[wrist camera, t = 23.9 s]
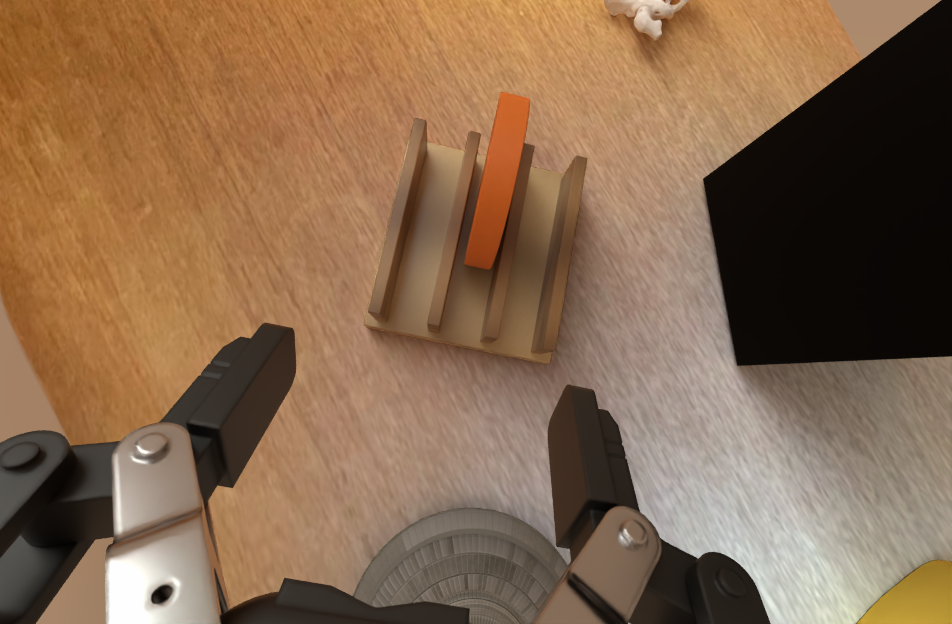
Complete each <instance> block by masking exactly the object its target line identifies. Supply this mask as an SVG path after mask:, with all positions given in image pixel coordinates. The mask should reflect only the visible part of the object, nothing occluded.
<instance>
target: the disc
mask: <svg viewBox="0 0 952 624" xmlns="http://www.w3.org/2000/svg"><path fill="white" fill-rule="evenodd" d="M529 108H530V100H529V98H525V97H521V96H517V95H513V94H509V93H505V92H501V94H500V98H499V102H498V106H497V111H496V115H495V120H494V124H493V129H492V133H491V138H490V142H489V147H488V151H487V156H486V161H485V165H484V170H483V174H482V179H481V184H480V189H479V193H478V198H477V203H476V207H475V212H474V217H473V222H472V227H471V231H470V236H469V241H468V246H467V251H466V256H465V262H464V264H465V265H469V266H473V267H478V268H482V269H487V270H490V268H491V267H492V265H493V263H494V260H495V257H496V254H497V251H498V248H499V245H500V242H501V238H502V235H503V231H504V227H505V224H506V220H507V216H508V212H509V208H510V204H511V200H512V196H513V192H514V188H515V183H516V179H517V175H518V170H519V165H520V161H521V156H522V151H523V146H524V141H525V135H526V130H527V124H528V117H529Z"/></svg>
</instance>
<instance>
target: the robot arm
mask: <svg viewBox="0 0 952 624" xmlns="http://www.w3.org/2000/svg"><path fill="white" fill-rule="evenodd" d="M295 373H296V352H295V334H294V330H293V328H289V327H284V326H280V325H275V324H270V323H264V324H262V325H261V326H260V327H259V329H258V330H257V331H256V333H255V334H254V335H253V336H252V338H251V339H250V338H245V337H239V338H238V339H236V340H234V341H233V342H231V343H229V344H228V345H226V346H224V347H223V348H222V349H221V350H220V351H219V353H218V354H217V355H216V356H215V357H214V358H213V360H212V361H211V364H208V366H207V367H206V368H205V369H204V370H203V371H202V373H201V376H198V377H197V379H196V380H195V381H194V382H193V383H192V385H191V386H190V387H189V388H188V389H187V390H186V392H185V393H184V394H183V395H182V396H181V398H180V399H179V400H178V401H177V402H176V404H175V405H174V406H173V407H172V408H171V409H170V411H169V412H168V413H167V414H166V415H165V417H164V418H163V419H162V420H161V421H160V422H159V423H154V424H150V425H147V426H143V427H141V428H139V429H137V430H135V431H133V432H131V433H130V434H128V435H127V436H126V437H125V438H123V439H122V440H121V441H117V442H108V443H97V444H86V445H74V446H70V444H69V442H68V441H67V439H66V438H65V437H64V436H63V435H62V434H60V433H57V432H53V431H45V430H42V431H32V432H27V433H24V434H20V435H17V436H14V437H11V438H9V439H7V440H5V441H3V442H1V443H0V624H36V622H37V621H38V619H39V618H40V617H41V615H42V614H43V612H44V611H45V609H46V608H47V607H48V605H49V604H50V602H51V601H52V600H53V598H54V597H55V595H56V594H57V593H58V591H59V590H60V588H61V587H62V586H63V584H64V583H65V581H66V580H67V579H68V577H69V576H70V574H71V573H72V572H73V570H74V569H75V567H76V566H77V564H78V563H79V562H80V560H81V559H82V557H83V556H84V554H85V553H86V552H87V550H88V549H89V548H90V546H91V545H92V543H93V542H94V540H96V539H102V538H109V537H114V541H113V544H110V545H109V546H108V547H107V550H106V558H105V573H106V624H471V623H469V614H470V608H464V607H458V606H452V605H446V604H440V603H434V602H427V601H423V602H415V603H408V604H401V605H393V606H386V607H373V606H370V605H368V604H366V603H364V602H362V601H360V600H358V599H356V598H355V597H353V596H351V595H349V594H347V593H345V592H343V591H341V590H339V589H337V588H335V587H333V586H330V585H324V584H318V583H312V582H306V581H300V580H294V579H288V578H284V580H283V583H282V586H281V588H280V591H279V592H273V593H268V594H265V595H261V596H257V597H255V598H252V599H250V600H247V601H245V602H243V603H241V604H239V605H237V606H235V607H233V608H232V609H230V604H229V599H228V595H227V590H226V586H225V582H224V578H223V573H222V568H221V563H220V558H219V553H218V548H217V542H216V537H215V532H214V526H213V521H212V516H211V510H210V505H209V501H208V500H209V498H210V497H211V495H212V493H213V492H214V490H215V488H216V487H217V485H218V486H224V487H230V488H233V487H234V485H235V483H236V481H237V480H238V478H239V476H240V474H241V473H242V471H243V469H244V468H245V466H246V464H247V462H248V461H249V459H250V457H251V455H252V454H253V452H254V450H255V448H256V447H257V445H258V443H259V442H260V440H261V438H262V436H263V435H264V433H265V431H266V429H267V428H268V426H269V424H270V423H271V421H272V419H273V417H274V416H275V414H276V412H277V410H278V409H279V407H280V405H281V403H282V402H283V400H284V398H285V397H286V395H287V393H288V391H289V390H290V388H291V386H292V383H293V381H294V377H295ZM548 448H549V460H550V472H551V485H552V497H553V509H554V521H555V533H556V546H557V547H561V548H567V549H570V554H571V562H570V564H569V565H568V567H567V568H566V570H565V571H564V573H563V574H562V576H561V577H560V579H559V580H558V582H557V583H556V584H555V586H554V587H553V589H552V590H551V592H550V593H549V595H548V596H547V598H546V599H545V601H544V602H543V604H542V605H541V607H540V608H539V610H538V611H537V613H536V614H535V616H534V617H533V619H532V620H531V622H530V623H529V624H628V622H629V623H631V624H770V621H769V618H768V616H767V613H766V610H765V608H764V605H763V602H762V600H761V597H760V594H759V591H758V589H757V587H756V585H755V583H754V581H753V580H752V578H751V577H750V575H749V574H748V573H747V572H746V571H745V569H744V568H743V567H741V566H740V565H739V564H738V563H737V562H736V561H734V560H733V559H731V558H730V557H728V556H726V555H724V554H721V553H717V552H708V553H705V554H703V555H702V556H701V557H700V558H699V559H698V558H696V557H694V556H692V555H690V554H688V553H686V552H684V551H682V550H680V549H678V548H676V547H674V546H672V545H670V544H669V543H667V542H665V541H664V540H662V539H661V538H660V537H659V534H658V532H657V530H656V529H655V527H654V526H653V524H652V523H651V522H650V521H649V520H648V519H647V518H646V517H645V516H644V515H643V514H641V513H640V510H639V507H638V503H637V499H636V495H635V491H634V487H633V483H632V479H631V475H630V471H629V467H628V463H627V459H625V456H626V455H625V451H624V447H623V445H622V439H621V435H620V431H619V427H618V425H617V424H616V422H615V421H614V419H613V418H612V416H611V415H610V413H609V412H608V411H607V410H602V409H598V405H597V400H596V395H595V392H594V390H592V389H587V388H582V387H577V386H572V385H567V386H566V387H565V389H564V391H563V393H562V395H561V397H560V399H559V402H558V404H557V406H556V408H555V410H554V412H553V414H552V416H551V419H550V422H549V427H548Z"/></svg>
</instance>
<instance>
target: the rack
mask: <svg viewBox="0 0 952 624" xmlns="http://www.w3.org/2000/svg"><path fill="white" fill-rule="evenodd" d="M480 137H481V134H480V133H477V132H473V131H469V134H468V138H467V143H466V148H465V151H463V150H459V149H454V148H450V147H446V146H442V145H437V144H433V143H429V142H427V122H426V120H422V119H418V118H415V119H414V123H413V127H412V131H411V135H410V138H409V140H408V144H407V148H406V152H405V157H404V161H403V165H402V169H401V173H400V177H399V181H398V185H397V189H396V193H395V197H394V202H393V206H392V210H391V214H390V218H389V222H388V226H387V230H386V234H385V238H384V242H383V247H382V251H381V255H380V259H379V263H378V267H377V271H376V275H375V279H374V283H373V287H372V292H371V296H370V300H369V304H368V308H367V312H366V316H365V320H364V326H366V327H367V328H371V329H376V330H381V331H386V332H391V333H396V334H400V335H405V336H410V337H415V338H420V339H425V340H430V341H435V342H439V343H444V344H449V345H454V346H459V347H464V348H469V349H473V350H478V351H483V352H488V353H493V354H498V355H503V356H507V357H512V358H517V359H522V360H527V361H532V362H537V363H541V364H548V363H550V361H551V355H552V352H553V351H555V350H556V344H557V338H558V332H559V326H560V320H561V314H562V308H563V302H564V296H565V290H566V284H567V278H568V272H569V266H570V260H571V254H572V248H573V242H574V236H575V230H576V224H577V218H578V212H579V206H580V200H581V194H582V188H583V182H584V176H585V170H586V164H587V158H584V157H580V156H576V157H575V158H574V160H573V161H572V163H571V165H570V166H569V168H568V169H567V171H566V172H565V174H561V173H557V172H553V171H549V170H544V169H540V168H536V167H532V166H531V163H532V158H533V152H534V147H535V146H533V145H529V144H525V143H524V146H523V151H522V156H521V161H520V165H519V170H518V175H517V179H516V183H515V188H514V192H513V196H512V200H511V204H510V208H509V212H508V216H507V220H506V224H505V227H504V231H503V235H502V238H501V242H500V245H499V248H498V251H497V254H496V257H495V260H494V263H493V265H492V267H491V268H490V270H487V269H482V268H478V267H473V266H469V265H465V264H464V262H465V256H466V251H467V246H468V241H469V236H470V231H471V227H472V222H473V217H474V212H475V207H476V203H477V198H478V193H479V189H480V184H481V179H482V174H483V170H484V165H485V161H486V156H484V155H480V154H477V153H478V148H479V142H480Z"/></svg>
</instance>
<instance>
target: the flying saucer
mask: <svg viewBox="0 0 952 624" xmlns="http://www.w3.org/2000/svg"><path fill="white" fill-rule="evenodd" d="M567 567H568V566H567V564H566V562H565V561H564V559H563V558H562V556H561V555H560V554H559V552H558V551H557V550H556V549H555V547H554V546H553V545H552V544H551V543H550V542H549V541H548V540H547V539H546V538H545V537H544V536H543V535H542V534H541V533H539V532H538V531H537V530H535V529H534V528H533V527H531V526H530V525H528V524H527V523H525V522H523V521H521V520H519V519H517V518H515V517H513V516H510V515H508V514H505V513H502V512H498V511H494V510H489V509H481V508H460V509H453V510H447V511H443V512H439V513H436V514H433V515H431V516H428V517H426V518H423V519H421V520H419V521H417V522H415V523H414V524H412V525H410V526H409V527H407V528H405V529H404V530H403V531H401V532H400V533H399V534H397V535H396V536H395V537H394V538H392V539H391V540H390V541H389V542H388V543H387V544H386V545H385V546H384V547H383V548H382V549H381V550H380V552H379V553H378V554H377V555H376V556H375V558H374V559H373V560H372V562H371V563H370V564H369V566H368V568H367V569H366V571H365V572H364V574H363V576H362V578H361V579H360V581H359V583H358V585H357V588H356V590H355V592H354V595H353V597H355V598H356V599H358V600H360V601H362V602H364V603H366V604H368V605H370V606H373V607H386V606H393V605H401V604H408V603H415V602H423V601H427V602H434V603H440V604H446V605H452V606H458V607H464V608H470V614H469V623H471V624H529V623H530V622H531V620H532V619H533V617H534V616H535V614H536V613H537V611H538V610H539V608H540V607H541V605H542V604H543V602H544V601H545V599H546V598H547V596H548V595H549V593H550V592H551V590H552V589H553V587H554V586H555V584H556V583H557V582H558V580H559V579H560V577H561V576H562V574H563V573H564V571H565V570H566V568H567Z"/></svg>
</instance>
